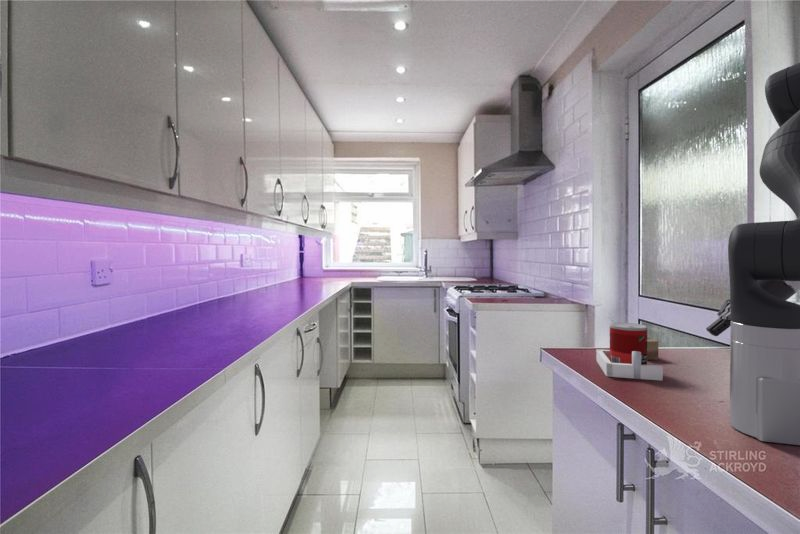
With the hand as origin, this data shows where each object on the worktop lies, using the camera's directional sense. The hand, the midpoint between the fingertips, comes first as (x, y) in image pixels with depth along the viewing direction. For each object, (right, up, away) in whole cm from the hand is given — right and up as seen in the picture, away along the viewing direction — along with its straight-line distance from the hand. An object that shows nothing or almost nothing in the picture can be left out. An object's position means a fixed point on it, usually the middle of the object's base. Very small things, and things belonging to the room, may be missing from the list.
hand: (710, 332), depth 89 cm
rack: (-15, -10, +6) cm, 19 cm away
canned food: (-16, -10, +6) cm, 20 cm away
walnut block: (-5, -10, +17) cm, 20 cm away
